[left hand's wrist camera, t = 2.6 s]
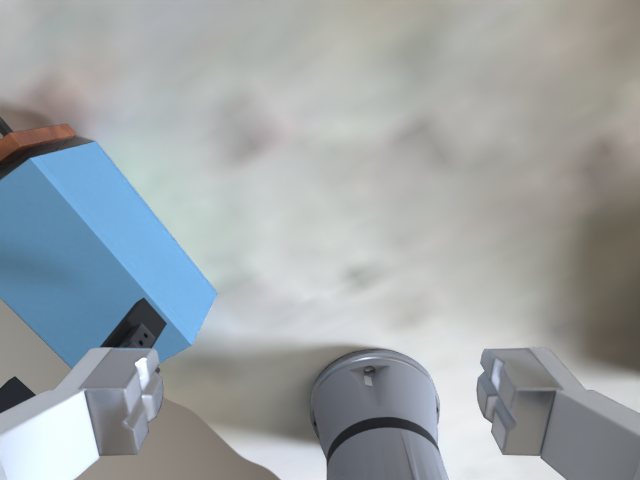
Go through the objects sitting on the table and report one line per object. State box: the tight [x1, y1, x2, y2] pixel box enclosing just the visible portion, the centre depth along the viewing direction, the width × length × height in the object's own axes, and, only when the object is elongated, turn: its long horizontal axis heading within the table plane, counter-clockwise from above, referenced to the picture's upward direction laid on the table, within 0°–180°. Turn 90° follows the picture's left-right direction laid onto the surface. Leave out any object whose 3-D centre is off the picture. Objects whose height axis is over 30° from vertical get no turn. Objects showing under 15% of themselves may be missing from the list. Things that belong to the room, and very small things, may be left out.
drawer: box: [0, 117, 76, 180], centre depth 37 cm, size 24×10×8 cm, turn 32°
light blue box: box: [0, 141, 217, 369], centre depth 39 cm, size 19×11×10 cm, turn 32°
